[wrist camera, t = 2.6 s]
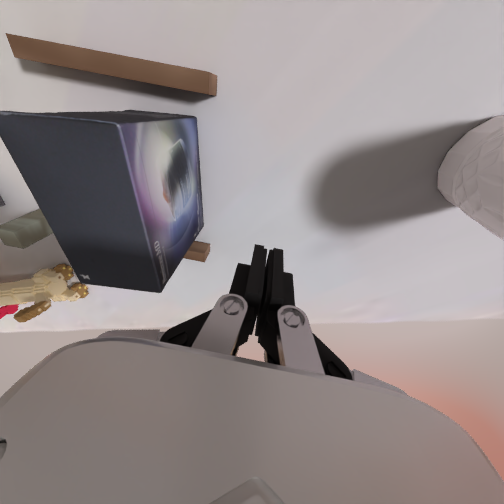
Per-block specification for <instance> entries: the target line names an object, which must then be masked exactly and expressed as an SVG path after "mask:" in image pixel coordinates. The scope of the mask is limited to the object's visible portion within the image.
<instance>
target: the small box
mask: <svg viewBox="0 0 504 504" xmlns="http://www.w3.org/2000/svg"><path fill="white" fill-rule="evenodd" d="M0 137H1V138H2V140H3V142H4V144H5V146H6V147H7V149H8V151H9V153H10V155H11V156H12V158H13V160H14V162H15V164H16V165H17V167H18V169H19V171H20V173H21V174H22V177H23V178H24V180H25V182H26V184H27V186H28V187H29V189H30V191H31V193H32V195H33V196H34V198H35V200H36V202H37V204H38V206H39V208H40V209H41V211H42V213H43V215H44V217H45V218H46V220H47V222H48V224H49V226H50V227H51V229H52V231H53V233H54V235H55V236H56V238H57V240H58V242H59V244H60V246H61V248H62V250H63V251H64V253H65V255H66V257H67V259H68V260H69V262H70V264H71V266H72V268H73V270H74V272H75V273H76V275H77V277H78V279H79V281H80V282H81V283H83V284H91V285H99V286H107V287H115V288H123V289H131V290H139V291H147V292H156V293H161V292H162V291H163V289H164V287H165V285H166V283H167V282H168V280H169V279H170V277H171V276H172V274H173V273H174V271H175V270H176V268H177V267H178V265H179V263H180V262H181V260H182V259H183V257H184V256H185V254H186V252H187V251H188V249H189V248H190V246H191V245H192V243H193V242H194V240H195V239H196V237H197V235H198V234H199V232H200V231H201V229H202V228H203V226H204V222H203V207H202V192H201V176H200V160H199V146H198V130H197V118H196V117H195V116H187V115H179V114H168V113H158V112H147V111H136V110H125V111H117V112H115V111H109V112H58V113H25V112H13V111H0Z"/></svg>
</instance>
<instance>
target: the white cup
mask: <svg viewBox="0 0 504 504" xmlns="http://www.w3.org/2000/svg"><path fill="white" fill-rule="evenodd" d="M437 188H438V189H439V191H440V192H441V193H442V195H443V196H444V197H445V199H446V200H447V201H449V202H450V203H452V204H454V205H455V206H457V207H458V208H460V209H461V210H462V211H463V212H464V213H465V214H467V215H468V216H469V217H470V218H472V219H473V220H475V221H477V222H478V223H479V224H480V225H482V226H483V227H484V228H486V229H487V230H489V231H490V232H492V233H493V234H494V235H496V236H497V237H499V238H500V239H502V240H503V241H504V115H502V116H496V117H493V118H492V119H490V120H488V121H486V122H484V123H483V124H481V125H479V126H477V127H475V128H473V129H472V130H470V131H468V132H467V133H466V134H465V135H464V136H463V137H462V138H461V139H460V140H459V141H458V142H457V143H456V144H455V145H454V146H453V147H452V148H451V149H450V150H449V151H448V153H447V154H446V156H445V158H444V160H443V162H442V164H441V166H440V168H439V170H438V185H437Z"/></svg>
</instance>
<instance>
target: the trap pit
mask: <svg viewBox="0 0 504 504" xmlns="http://www.w3.org/2000/svg"><path fill="white" fill-rule="evenodd" d="M3 205H5V203H4V201H3V200H2V198H1V196H0V206H3Z"/></svg>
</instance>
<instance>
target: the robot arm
mask: <svg viewBox="0 0 504 504" xmlns="http://www.w3.org/2000/svg"><path fill="white" fill-rule="evenodd" d="M266 255H267V249H264V246H261V245H256V244H255V247H254V252H253V257H252V262H251V265H246V264H241V263H238V265H237V268H236V272H235V275H234V279H233V282H232V285H231V289H230V292H229V294H226V295H223V296H222V297H220V298H219V299H218V301H217V302H216V304H215V306H214V308H213V309H212V310H210V311H207V312H205V313H203V314H201V315H199V316H196V317H194V318H192V319H190V320H188V321H185V322H183V323H181V324H179V325H177V326H175V327H172V328H171V329H169V330H167V331H166V332H160V330H112V331H107V332H105V333H103V334H101V335H100V336H98V337H97V338H94V339H88V340H83V341H79V342H76V343H72V344H69V345H66V346H64V347H62V348H60V349H58V350H56V351H54V352H53V353H51V354H50V355H48V356H47V357H45V358H44V359H43V360H42V361H40V362H39V363H38V364H37V365H35V366H34V367H33V368H32V369H31V370H30V371H28V373H26V374H25V375H24V376H23V377H22V378H21V379H19V380H18V381H17V382H16V383H15V384H14V385H13V386H12V387H11V388H10V389H9V390H8V391H7V392H5V393H4V394H3V396H2V397H1V398H0V504H504V482H503V480H502V478H501V477H500V475H499V474H498V472H497V471H496V469H495V468H494V466H493V465H492V463H491V462H490V460H489V459H488V457H487V456H486V455H485V453H484V452H483V451H482V449H481V448H480V447H479V445H478V444H477V443H476V442H475V441H474V439H473V438H472V437H471V436H470V435H469V434H468V433H467V432H466V431H465V430H464V429H463V428H462V427H461V426H460V425H459V424H457V423H456V422H455V421H453V420H452V419H450V418H449V417H448V416H446V415H445V414H443V413H441V412H440V411H438V410H436V409H435V408H433V407H431V406H429V405H428V404H426V403H423V402H421V401H419V400H417V399H415V398H412V397H410V396H408V395H407V394H406V393H405V392H404V391H402V390H401V389H399V388H397V387H395V386H392V385H390V384H388V383H386V382H383V381H381V380H379V379H376V378H374V377H372V376H369V375H367V374H364V373H362V372H360V371H357V370H355V369H354V370H353V371H351V370H349V369H348V367H347V366H346V365H345V364H344V362H342V361H341V360H340V359H339V358H338V357H337V356H336V355H335V354H334V353H333V352H332V351H331V350H330V349H329V348H328V347H327V346H326V345H325V344H323V342H322V341H321V340H320V339H318V338H317V337H316V336H315V335H314V334H313V333H312V331H311V327H310V324H309V321H308V318H307V316H306V314H305V313H304V312H303V311H302V310H301V309H299V308H298V307H295V300H294V286H293V275H292V274H291V273H286V272H283V250H282V249H276V248H274V249H273V250H270V251H269V255H268V259H267V263H266ZM265 265H266V267H265ZM256 317H257V322H256V331H255V336H259V337H258V343H260V345H261V346H262V347H263V348H264V349H265V351H264V359H265V362H261V361H256V360H251V359H246V358H241V357H236V355H237V352H238V350H239V346H240V345H242V344H244V343H245V342H247V340H248V336H249V335H252V332H253V329H254V325H255V321H256Z"/></svg>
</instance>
